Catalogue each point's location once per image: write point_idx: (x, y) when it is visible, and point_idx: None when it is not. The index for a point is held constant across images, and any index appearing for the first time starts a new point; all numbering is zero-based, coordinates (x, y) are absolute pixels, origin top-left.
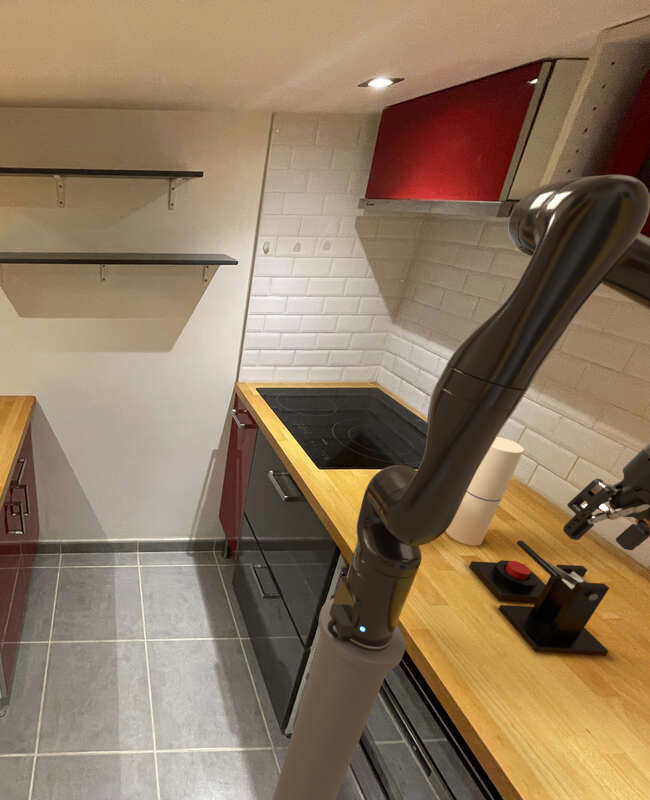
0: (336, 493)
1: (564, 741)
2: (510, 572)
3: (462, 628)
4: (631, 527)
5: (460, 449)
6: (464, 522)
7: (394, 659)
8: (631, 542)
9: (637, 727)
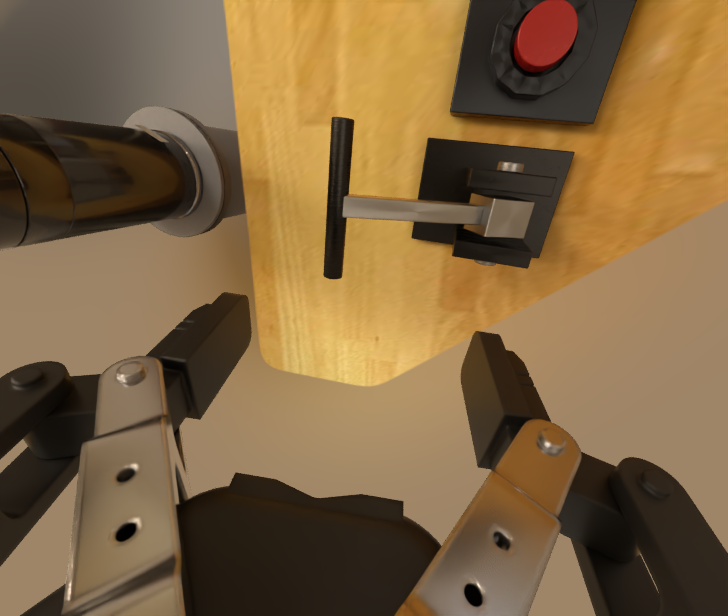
0: None
1: (338, 342)
2: (515, 46)
3: (325, 182)
4: (496, 404)
5: None
6: None
7: (195, 232)
8: (468, 395)
9: (445, 346)
